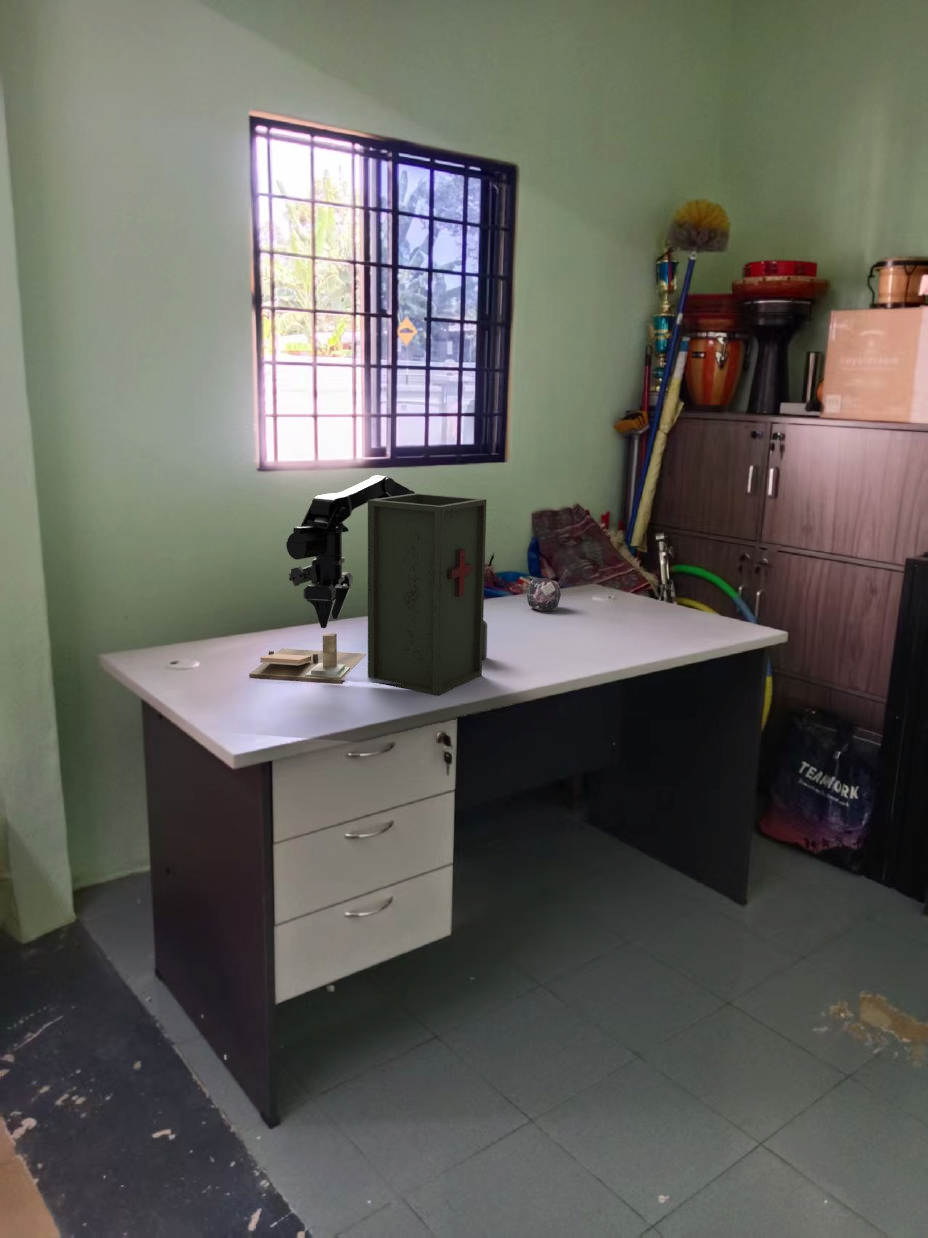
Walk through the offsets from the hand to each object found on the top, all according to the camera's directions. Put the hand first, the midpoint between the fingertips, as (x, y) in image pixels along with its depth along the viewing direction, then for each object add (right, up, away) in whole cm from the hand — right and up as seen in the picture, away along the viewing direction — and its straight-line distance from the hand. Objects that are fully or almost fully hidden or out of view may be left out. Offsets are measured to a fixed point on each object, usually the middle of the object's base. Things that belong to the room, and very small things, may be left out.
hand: (329, 623), depth 218 cm
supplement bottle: (+32, -9, +19) cm, 38 cm away
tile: (-10, -8, +4) cm, 14 cm away
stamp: (0, -11, +1) cm, 11 cm away
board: (-5, -10, +8) cm, 14 cm away
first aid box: (+21, -13, +2) cm, 25 cm away
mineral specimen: (+53, +4, +73) cm, 91 cm away
